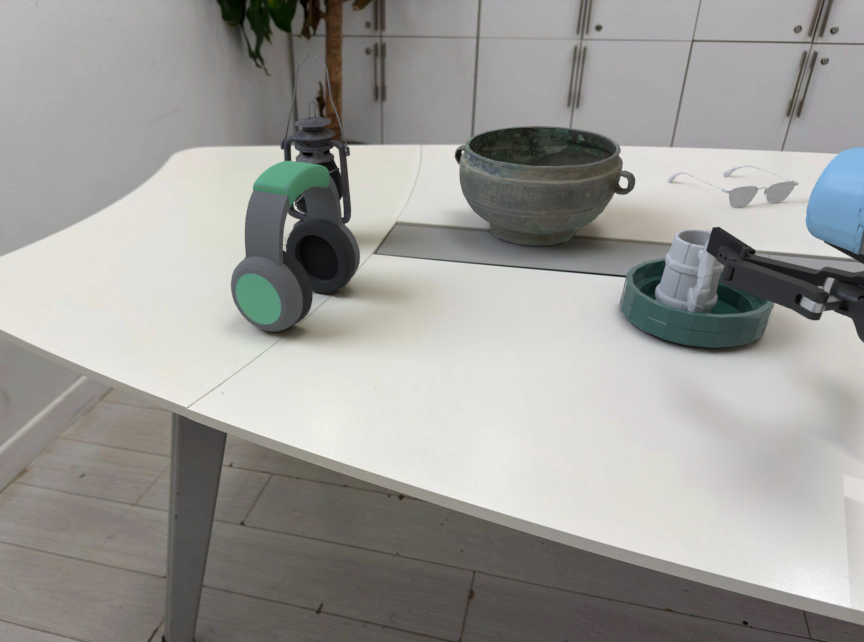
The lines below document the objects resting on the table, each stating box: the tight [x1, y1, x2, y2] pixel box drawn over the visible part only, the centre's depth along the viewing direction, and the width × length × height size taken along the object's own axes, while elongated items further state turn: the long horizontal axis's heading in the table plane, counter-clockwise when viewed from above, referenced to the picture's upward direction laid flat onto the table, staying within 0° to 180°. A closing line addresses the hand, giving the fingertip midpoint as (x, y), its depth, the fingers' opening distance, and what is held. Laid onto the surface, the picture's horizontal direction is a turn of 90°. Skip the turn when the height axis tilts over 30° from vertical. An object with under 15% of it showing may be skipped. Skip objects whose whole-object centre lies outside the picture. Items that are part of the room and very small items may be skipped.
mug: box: [655, 228, 724, 314], centre depth 86 cm, size 8×12×12 cm, turn 165°
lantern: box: [279, 49, 352, 229], centre depth 108 cm, size 12×11×30 cm
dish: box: [619, 257, 775, 349], centre depth 88 cm, size 18×18×5 cm
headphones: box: [230, 160, 361, 333], centre depth 90 cm, size 19×11×20 cm, turn 151°
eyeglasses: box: [667, 164, 799, 208], centre depth 131 cm, size 15×18×4 cm
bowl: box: [454, 125, 636, 247], centre depth 114 cm, size 32×26×15 cm
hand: (771, 234), depth 73 cm, fingers open, 13 cm apart
